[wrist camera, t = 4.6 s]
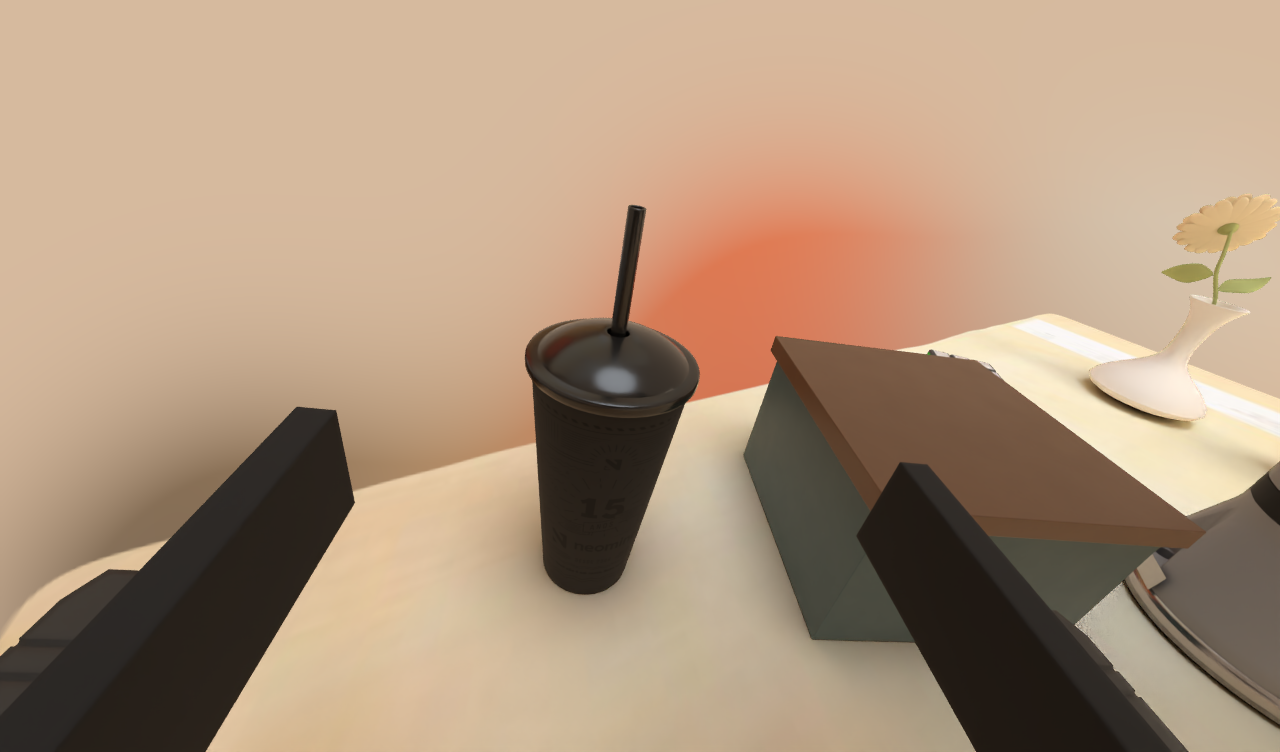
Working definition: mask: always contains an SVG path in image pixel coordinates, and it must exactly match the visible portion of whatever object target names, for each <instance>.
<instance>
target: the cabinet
mask: <svg viewBox="0 0 1280 752" xmlns="http://www.w3.org/2000/svg"><path fill="white" fill-rule="evenodd" d="M771 352H772V353H773V355H774V357H775V358H776V360H777V363H776V366H775V368H774V371H773V374H772V377H771V380H770V382H769V385H768V388H767V391H766V393H765V396H764V399H763V402H762V405H761V407H760V410H759V413H758V416H757V419H756V421H755V424H754V427H753V430H752V432H751V435H750V438H749V441H748V444H747V446H746V449H745V452H744V458H745V460H746V463H747V466H748V469H749V471H750V474H751V477H752V479H753V482H754V485H755V487H756V490H757V493H758V495H759V498H760V501H761V504H762V506H763V509H764V512H765V514H766V517H767V520H768V522H769V525H770V528H771V530H772V533H773V536H774V538H775V541H776V544H777V547H778V549H779V552H780V555H781V557H782V560H783V563H784V565H785V568H786V571H787V573H788V576H789V579H790V581H791V584H792V587H793V590H794V592H795V595H796V598H797V600H798V603H799V606H800V608H801V611H802V614H803V616H804V619H805V622H806V624H807V627H808V630H809V633H810V635H811V638H812V639H822V640H857V641H891V642H915V641H914V639H913V637H912V636H911V634H910V632H909V630H908V628H907V627H906V625H905V623H904V621H903V619H902V618H901V616H900V614H899V612H898V610H897V609H896V607H895V605H894V603H893V602H892V600H891V598H890V596H889V594H888V593H887V591H886V589H885V587H884V585H883V584H882V582H881V580H880V578H879V576H878V575H877V573H876V571H875V569H874V567H873V566H872V564H871V562H870V560H869V558H868V557H867V555H866V553H865V551H864V549H863V548H862V546H861V544H860V542H859V540H858V539H857V537H856V535H857V533H858V532H859V530H860V528H861V527H862V525H863V523H864V522H865V520H866V518H867V517H868V515H869V513H870V512H871V510H872V508H873V506H874V505H875V503H876V501H877V500H878V498H879V496H880V495H881V493H882V491H883V490H884V488H885V486H886V485H887V483H888V481H889V480H890V478H891V476H892V475H893V473H894V471H895V470H896V468H897V466H898V464H899V463H900V462H906V463H917V464H928V466H929V467H930V468H931V469H932V470H933V471H934V473H935V474H936V475H937V476H938V477H939V479H940V480H941V481H942V482H943V483H944V484H945V486H946V487H947V488H948V489H949V490H950V491H951V493H952V494H953V495H954V496H955V497H956V499H957V500H958V501H959V502H960V503H961V504H962V506H963V507H964V508H965V509H966V510H967V511H968V513H969V514H970V515H971V516H972V517H973V518H974V520H975V521H976V522H977V523H978V524H979V526H980V527H981V528H982V529H983V530H984V531H985V533H986V534H987V535H988V536H989V537H990V538H991V540H992V541H993V542H994V543H995V544H996V546H997V547H998V548H999V549H1000V550H1001V551H1002V553H1003V554H1004V555H1005V556H1006V557H1007V558H1008V560H1009V561H1010V562H1011V563H1012V564H1013V566H1014V567H1015V568H1016V569H1017V570H1018V571H1019V573H1020V574H1021V575H1022V576H1023V577H1024V578H1025V580H1026V581H1027V582H1028V583H1029V584H1030V585H1031V587H1032V588H1033V589H1034V590H1035V591H1036V593H1037V594H1038V595H1039V596H1040V597H1041V598H1042V600H1043V601H1044V602H1045V603H1046V604H1047V605H1048V607H1049V608H1050V609H1051V610H1056V611H1058V612H1059V613H1060V614H1061V615H1063V616H1064V617H1065V618H1066V619H1067V620H1069V621H1070V622H1071V623H1072V624H1073V625H1074V624H1075V623H1077V622H1078V621H1079V620H1080V619H1081V618H1082V617H1083V616H1084V615H1085V614H1087V613H1088V612H1089V611H1090V610H1091V609H1092V608H1093V607H1094V606H1095V605H1096V604H1098V603H1099V602H1100V601H1101V600H1102V599H1103V598H1104V597H1105V596H1106V595H1108V594H1109V593H1110V592H1111V591H1112V590H1113V589H1114V588H1115V587H1116V586H1117V585H1119V584H1120V583H1121V582H1122V581H1123V580H1124V579H1125V578H1126V577H1127V576H1129V575H1130V574H1131V573H1132V572H1133V571H1134V570H1135V569H1136V568H1137V567H1139V566H1140V565H1141V564H1142V563H1143V562H1144V561H1145V560H1146V559H1147V558H1148V557H1150V556H1151V555H1152V554H1153V553H1154V552H1155V551H1156V550H1157V549H1158V548H1160V547H1170V548H1185V549H1188V548H1189V547H1190V546H1191V545H1193V544H1194V543H1195V542H1196V541H1197V540H1198V539H1199V538H1201V537H1202V536H1203V535H1204V534H1205V533H1206V531H1205V530H1203V529H1202V528H1201V527H1199V526H1198V525H1197V524H1195V523H1194V522H1192V521H1191V520H1190V519H1188V518H1187V517H1186V516H1184V515H1183V514H1182V513H1180V512H1179V511H1178V510H1176V509H1175V508H1174V507H1172V506H1171V505H1170V504H1168V503H1167V502H1166V501H1164V500H1163V499H1162V498H1160V497H1159V496H1158V495H1156V494H1155V493H1154V492H1152V491H1151V490H1150V489H1148V488H1147V487H1146V486H1144V485H1143V484H1142V483H1140V482H1139V481H1137V480H1136V479H1135V478H1133V477H1132V476H1131V475H1129V474H1128V473H1127V472H1125V471H1124V470H1123V469H1121V468H1120V467H1119V466H1117V465H1116V464H1115V463H1113V462H1112V461H1111V460H1109V459H1108V458H1107V457H1105V456H1104V455H1103V454H1101V453H1100V452H1099V451H1097V450H1096V449H1095V448H1093V447H1092V446H1091V445H1089V444H1088V443H1087V442H1085V441H1084V440H1082V439H1081V438H1080V437H1078V436H1077V435H1076V434H1074V433H1073V432H1072V431H1070V430H1069V429H1068V428H1066V427H1065V426H1064V425H1062V424H1061V423H1060V422H1058V421H1057V420H1056V419H1054V418H1053V417H1052V416H1050V415H1049V414H1048V413H1046V412H1045V411H1044V410H1042V409H1041V408H1040V407H1038V406H1037V405H1036V404H1034V403H1033V402H1032V401H1030V400H1029V399H1027V398H1026V397H1025V396H1023V395H1022V394H1021V393H1019V392H1018V391H1017V390H1015V389H1014V388H1013V387H1011V386H1010V385H1009V384H1007V383H1006V382H1005V381H1003V380H1002V379H1001V378H999V377H998V376H997V375H995V374H994V373H993V372H991V371H990V370H989V369H987V368H986V367H985V366H983V365H982V364H981V363H979V362H978V361H976V360H968V359H960V358H952V357H944V356H935V355H927V354H919V353H911V352H902V351H894V350H886V349H878V348H870V347H861V346H853V345H845V344H836V343H829V342H820V341H812V340H804V339H796V338H788V337H778V336H776V337H775V340H774V343H773V345H772V348H771Z"/></svg>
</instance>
